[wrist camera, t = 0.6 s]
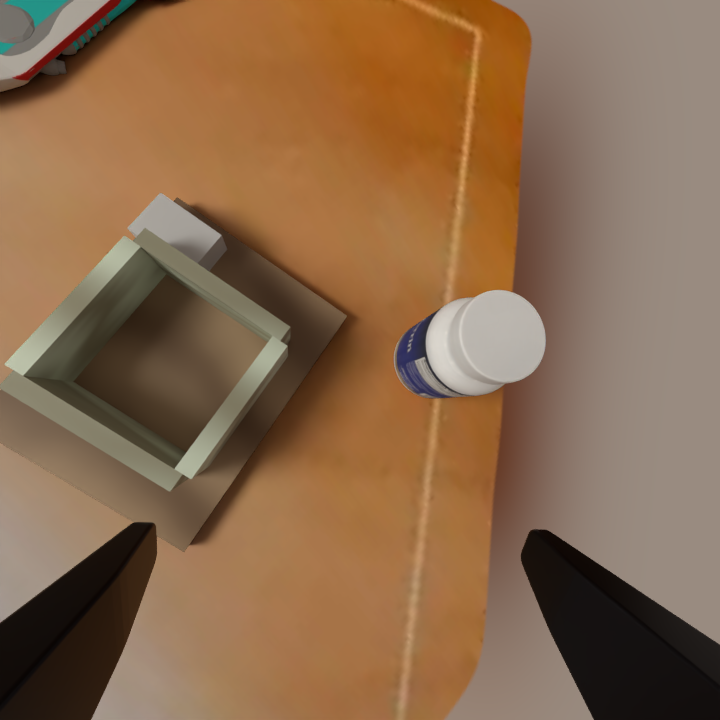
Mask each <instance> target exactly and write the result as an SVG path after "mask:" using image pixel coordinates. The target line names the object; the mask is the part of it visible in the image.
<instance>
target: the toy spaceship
mask: <svg viewBox="0 0 720 720" xmlns="http://www.w3.org/2000/svg"><path fill="white" fill-rule="evenodd" d="M135 1H137V0H0V92H2V91H6V90H9V89H13V88H16V87H20V86H23V85H25V84H27V83H28V82H29V81H30V80H31V79H32V78H33V77H35V76H36V75H37V74H38V73H39V72H42V73H44V74H47V75H59V74H67V73H66V68H65V62H64V61H60V60H56V57H57V56H59V55H60V54H61V53H62V54H64V55H73V54H76V53H77V50H78V49H79V48H80V49H81V48H83V47H84V44H85V43H88V42H89V41H90V38H91V37H95V36H96V35H97V32H98V31H102V30H103V29H104V26H105V25H109V24H110V21H112V20H113V19H114V18H116V17H117V16H118V15H120V14H121V13H122V12H124V11H125V10H126V9H127V8H128V7H130V6H131V5H132V4H133V3H134V2H135ZM150 1H151V0H150Z"/></svg>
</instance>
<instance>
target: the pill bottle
mask: <svg viewBox="0 0 720 720" xmlns="http://www.w3.org/2000/svg"><path fill="white" fill-rule="evenodd" d="M545 346H546V335H545V329H544V325H543V323H542V320H541V318H540V316H539V314H538V313H537V311H536V310H535V308H534V307H533V306H532V305H531V304H530V303H529V302H528V301H527V300H525V299H524V298H523V297H521V296H519V295H518V294H515V293H513V292H509V291H505V290H493V291H488V292H485V293H482V294H480V295H478V296H476V297H474V298H462V299H458V300H455V301H452V302H450V303H448V304H446V305H445V306H443V307H442V308H440V309H439V310H437V311H436V312H434V313H433V314H431V315H430V316H428V317H427V318H425V319H424V320H422V321H421V322H419V323H418V324H416V325H415V326H413V327H412V328H410V329H409V330H408V331H406V332H405V333H404V334H403V335H402V337H401V338H400V340H399V341H398V343H397V345H396V348H395V352H394V366H395V370H396V373H397V375H398V378H399V379H400V381H401V382H402V384H403V385H404V386H405V387H406V388H407V389H408V390H409V391H411V392H412V393H414V394H416V395H418V396H421V397H425V398H449V397H464V396H478V395H484V394H488V393H491V392H493V391H495V390H497V389H499V388H500V387H502V386H503V385H504V384H506V383H512V382H516V381H519V380H522V379H524V378H525V377H527V376H528V375H530V374H531V373H532V372H533V371H534V370H535V369H536V368H537V367H538V366H539V364H540V362H541V360H542V358H543V355H544V351H545Z"/></svg>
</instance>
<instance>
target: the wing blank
mask: <svg viewBox="0 0 720 720" xmlns="http://www.w3.org/2000/svg"><path fill="white" fill-rule="evenodd" d="M144 228H146V229H148V230H149V231H151V232H152V233H154V234H155V235H156V236H158V237H159V238H161V239H162V240H164V241H165V242H167V243H168V244H170V245H171V246H173V247H174V248H176V249H177V250H178V251H180V252H181V253H183V254H184V255H186V256H187V257H189V258H190V259H192V260H193V261H195V262H196V263H198V264H199V265H200V266H202V267H203V268H205V269H206V270H208V271H210V269H211V268H212V267H213V266H214V265H215V263H216V262H217V261H218V260H219V259H220V257H221V256H222V255H223V254H224V253H225V252H226V250H227V247H226V245H225V242H224V240H223V237H222V235H221V234H219V233H218V232H216V231H215V230H214V229H212V228H211V227H209V226H208V225H206V224H205V223H203V222H202V221H201V220H199V219H198V218H196V217H195V216H193V215H192V214H191V213H189V212H188V211H186V210H185V209H183V208H182V207H180V206H179V205H178V204H176V203H175V202H173V201H172V200H170V199H169V198H168V197H166V196H165V195H163V194H162V193H160V194H159V195H158V196H157V197H156V198H155V199H154V200H153V201H152V202H151V203H150V204H149V206H148V207H147V208H146V209H145V210H144V211H143V212H142V213H141V214H140V215H139V216H138V217H137V218H136V219H135V220H134V222H133V223H132V224H131V225H130V226H129V227H128V230H129V231H130V232H131V233H132V234H133V235H134V236H135V237H137V236H138V235H139V234H140V233H141V231H142V230H143V229H144Z"/></svg>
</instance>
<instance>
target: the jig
mask: <svg viewBox="0 0 720 720" xmlns="http://www.w3.org/2000/svg"><path fill="white" fill-rule="evenodd" d="M173 202H175V203H176V204H178V205H179V206H180V207H182V208H183V209H185V210H186V211H188V212H189V213H191V214H192V215H193V216H195V217H196V218H198V219H199V220H201V221H202V222H203V223H205V224H206V225H208V226H209V227H211V228H212V229H214V230H215V231H216V232H218V233H219V234H221V235H222V237H223V240H224V242H225V245H226V247H227V250H226V252H225V253H224V254H223V255H222V256H221V257H220V259H219V260H218V261H217V262H216V263H215V265H214V266H213V267H212V268H211V269H210V271H208V270H206V269H205V268H203V267H202V266H200V265H199V264H198V263H196V262H195V261H193V260H192V259H190V258H189V257H187V256H186V255H184V254H183V253H181V252H180V251H178V250H177V249H176V248H174V247H173V246H171V245H170V244H168V243H167V242H165V241H164V240H162V239H161V238H159V237H158V236H156V235H155V234H154V233H152V232H151V231H149V230H148V229H146V228H144V229H143V230H142V231H141V233H140V234H139V235H138V236H137V237H136V238H135V239H134V240H133V241H132V240H130V239H129V238H127V237H126V236H124V237H123V238H122V239H121V240H120V241H119V242H118V243H117V244H116V245H115V246H114V247H113V248H112V249H111V251H110V252H109V253H108V254H107V255H106V256H105V257H104V258H103V259H102V260H101V261H100V262H99V263H98V264H97V266H96V267H95V268H94V269H93V270H92V271H91V272H90V273H89V274H88V275H87V276H86V277H85V278H84V279H83V281H82V282H81V283H80V284H79V285H78V286H77V287H76V288H75V289H74V290H73V291H72V292H71V293H70V294H69V296H68V297H67V298H66V299H65V300H64V301H63V302H62V303H61V304H60V305H59V306H58V307H57V308H56V309H55V310H54V312H53V313H52V314H51V315H50V316H49V317H48V318H47V319H46V320H45V321H44V322H43V323H42V324H41V325H40V327H39V328H38V329H37V330H36V331H35V332H34V333H33V334H32V335H31V336H30V337H29V338H28V339H27V340H26V342H25V343H24V344H23V345H22V346H21V347H20V348H19V349H18V350H17V351H16V352H15V353H14V354H13V355H12V357H11V358H10V359H9V360H8V361H7V362H6V363H5V365H6V366H8V367H9V368H11V369H13V371H12V372H11V373H10V375H9V376H8V377H7V378H6V379H5V380H4V381H3V382H2V383H1V384H0V389H1V390H0V443H1V444H3V445H4V446H6V447H8V448H9V449H11V450H13V451H15V452H16V453H18V454H20V455H21V456H23V457H25V458H26V459H28V460H30V461H31V462H33V463H35V464H36V465H38V466H40V467H41V468H43V469H45V470H47V471H48V472H50V473H52V474H53V475H55V476H57V477H58V478H60V479H62V480H63V481H65V482H67V483H68V484H70V485H72V486H73V487H75V488H77V489H79V490H80V491H82V492H84V493H85V494H87V495H89V496H90V497H92V498H94V499H95V500H97V501H99V502H100V503H102V504H104V505H106V506H107V507H109V508H111V509H112V510H114V511H116V512H117V513H119V514H121V515H122V516H124V517H126V518H127V519H129V520H131V521H132V522H134V523H135V522H153V523H154V524H155V525H156V533H157V536H158V537H159V538H161V539H163V540H165V541H166V542H168V543H170V544H171V545H173V546H175V547H176V548H178V549H180V550H181V551H183V552H184V551H185V550H186V549H187V547H188V546H189V545H190V543H191V542H192V540H193V539H194V537H195V536H196V534H197V533H198V532H199V530H200V529H201V527H202V526H203V524H204V523H205V521H206V520H207V518H208V517H209V516H210V514H211V513H212V511H213V510H214V508H215V507H216V505H217V504H218V503H219V501H220V500H221V498H222V497H223V495H224V494H225V492H226V491H227V490H228V488H229V487H230V485H231V484H232V482H233V481H234V479H235V478H236V477H237V475H238V474H239V472H240V471H241V469H242V468H243V466H244V465H245V463H246V462H247V461H248V459H249V458H250V456H251V455H252V453H253V452H254V450H255V449H256V448H257V446H258V445H259V443H260V442H261V440H262V439H263V437H264V436H265V435H266V433H267V432H268V430H269V429H270V427H271V426H272V424H273V423H274V422H275V420H276V419H277V417H278V416H279V414H280V413H281V411H282V410H283V409H284V407H285V406H286V404H287V403H288V401H289V400H290V398H291V397H292V395H293V394H294V393H295V391H296V390H297V388H298V387H299V385H300V384H301V382H302V381H303V380H304V378H305V377H306V375H307V374H308V372H309V371H310V369H311V368H312V367H313V365H314V364H315V362H316V361H317V359H318V358H319V356H320V355H321V354H322V352H323V351H324V349H325V348H326V346H327V345H328V343H329V342H330V340H331V339H332V338H333V336H334V335H335V333H336V332H337V330H338V329H339V327H340V326H341V325H342V323H343V322H344V320H345V319H346V317H347V315H345V314H344V313H342V312H341V311H339V310H338V309H337V308H335V307H334V306H332V305H331V304H329V303H328V302H326V301H325V300H324V299H322V298H321V297H319V296H318V295H316V294H315V293H314V292H312V291H311V290H309V289H308V288H306V287H305V286H304V285H302V284H301V283H299V282H298V281H296V280H295V279H294V278H292V277H291V276H289V275H288V274H286V273H285V272H283V271H282V270H281V269H279V268H278V267H276V266H275V265H273V264H272V263H271V262H269V261H268V260H266V259H265V258H263V257H262V256H261V255H259V254H258V253H256V252H255V251H253V250H252V249H251V248H249V247H248V246H246V245H245V244H243V243H242V242H240V241H239V240H238V239H236V238H235V237H233V236H232V235H230V234H229V233H228V232H226V231H225V230H223V229H222V228H220V227H219V226H218V225H216V224H215V223H213V222H212V221H210V220H209V219H208V218H206V217H205V216H203V215H202V214H200V213H199V212H197V211H196V210H195V209H193V208H192V207H190V206H189V205H187V204H186V203H185V202H183V201H182V200H180V199H179V198H176V199H175V200H174V201H173Z"/></svg>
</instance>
